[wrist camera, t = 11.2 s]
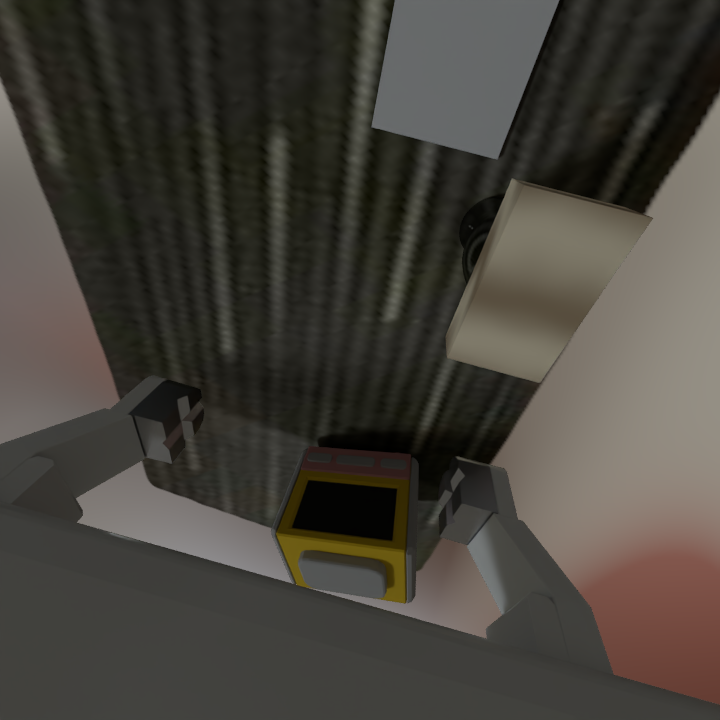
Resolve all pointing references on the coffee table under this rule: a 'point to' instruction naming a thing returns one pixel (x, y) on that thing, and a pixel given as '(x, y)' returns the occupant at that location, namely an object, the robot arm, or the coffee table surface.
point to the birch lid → (539, 278)
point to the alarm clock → (351, 523)
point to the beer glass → (476, 232)
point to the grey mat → (459, 69)
